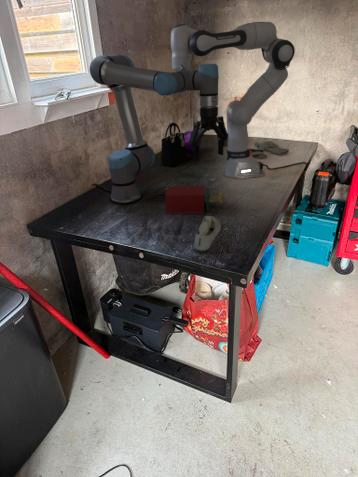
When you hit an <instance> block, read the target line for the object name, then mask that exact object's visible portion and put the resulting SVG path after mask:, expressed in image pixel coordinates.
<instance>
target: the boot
mask: <svg viewBox="0 0 358 477" xmlns="http://www.w3.org/2000/svg"><path fill="white" fill-rule="evenodd" d="M220 117H223V123H224V125H225V124H226V123H225V119H224V116H223V115H222V116H221V115H220ZM216 124H217V126H218V127H219V125H218V122H217V123H216ZM225 126H226V125H225ZM219 130H220V128H219ZM220 131H221V130H220ZM218 139H220V138H219V137H218V135H217V134H216V140H217V142H218ZM226 145H228V138H226V140H224V146H226Z"/></svg>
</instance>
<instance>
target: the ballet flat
mask: <svg viewBox="0 0 358 477" xmlns="http://www.w3.org/2000/svg"><path fill="white" fill-rule="evenodd" d="M221 229H222V225H221V222H220V220H219V219H218V218H216V217H215V216H213V215H212V216H211V215H205V216H204V217H203V219H202V221H201V223H200V225H199V228H198V230H197V232H196V233H195V236H194V242H193V248H194V249H195V251H196V252H199V253H200V252H201V253H205V252H207V251H208V250H209V249H210V248H211V246H212V244H213V242H214V240H215V239H216V238H217V235H218V234H219V233H220V232H221Z"/></svg>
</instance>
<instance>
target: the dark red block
mask: <svg viewBox="0 0 358 477" xmlns="http://www.w3.org/2000/svg"><path fill="white" fill-rule="evenodd" d="M205 194H206V192H205V185H174V186H173V185H169V186H167V188H166V192H165V195H164V199H165V213H166V215H168V214H169V215H170V214H171V215H172V214H173V215H174V214H175V215H176V214H177V215H179V214H180V215H181V214H205V207H206V206H205V205H206V195H205Z"/></svg>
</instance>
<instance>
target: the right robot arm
mask: <svg viewBox="0 0 358 477" xmlns="http://www.w3.org/2000/svg"><path fill="white" fill-rule="evenodd" d="M277 33H278V32H277V27H276V24H275V23H273V22H271V21H252V22H246V23H243V24H240V25H239V26H237V27H235V28H234V29H233V30H229V31H222V32H214V33H213V32H210V31H207V30H204V29H199V30H196V29H194V28H192V27H190V26H189V25H188V24H187V23H182V24H178V25H175V26H174V27H172V29H171V31H170V49H171V68H172V70H174V72H175V71H177V70H189V69H190V68H191V55H195V56H197V57H205V56H207V55H209V54H210V53H211V52H213V51H215V50H216V51H217V50H222V49H228V48H235V49H237V50H241V51H251V50H259V49H260V50H261V55H262V58H263V60H264V61H265V62H266V63H268V67H267V69H266V70H265V72H263V73H262V74H261V75H260V76H259V77H258V78H257V79H256V80H255V81H254V82H253V83H252V84H251V85H250V86H249V87H248V88H247V91H245V93H244V94H243V95H242V97H241V98H240V99H239V100H237V99H235V100H233V101H231V102H229V103H228V105H227V107H226V112H225V113H226V131H227V133H228V143H227V149H226V152H225V153H226V154H225V159H226V165H225V169H224V172H223V174H224V176H225V177H228V178H232V179H233V178H234V179H237V180H243V179H250V178H258V177H259V178H260V177H263V176H264V175H265V172H264V167H266V169H267V170H270V171H272V170H273V171H274V170H279V169H285V168H289V167H293V166H296V165H302V164H305V165H309V163H307V162H306V161H301V162H295V163H291V164H288V165H283V166H278V167H274V168H273V167H272V168H270V167H269V166H268V164H264V163H263V162H261V161H258V160H257V159H256V158H255V157H254V158H253V157H252V156H250V155H252V154H253V152H252V151H251V150H249V149H247V148H249V147H248V146H249V144H248V143H249V132H248V125H249V124H250V123H251V121H252V119H253V118H254V117H255V115H256V114H257V113H258V111H259V110H260V109H261V107H262V106H263V105H264V104H265V103H266V102H267V101H268V100H269V99H270V98H271V97H272V96H273V95H274V94H275V93H276V92H277V91H278V90H279V89H280V88H281V87H282V85H283V84H284V83H285V82H286V80H287V79H288V77H289V73H288V69H287V68H289V67H290V65H291V63H292V61H293V58H294V56H295V52H296V48H295V45H294V43H293V42H291V40H288V39H284V38H279V37H278V35H277ZM185 92H186V91H183V92H179V93H180V97H182V98H184V97H185V96H186V94H185Z"/></svg>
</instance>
